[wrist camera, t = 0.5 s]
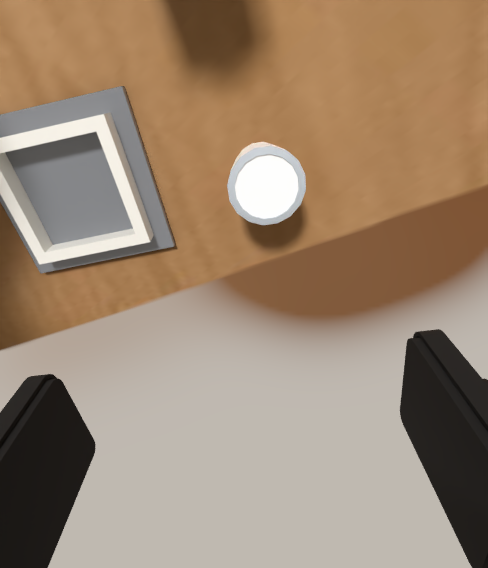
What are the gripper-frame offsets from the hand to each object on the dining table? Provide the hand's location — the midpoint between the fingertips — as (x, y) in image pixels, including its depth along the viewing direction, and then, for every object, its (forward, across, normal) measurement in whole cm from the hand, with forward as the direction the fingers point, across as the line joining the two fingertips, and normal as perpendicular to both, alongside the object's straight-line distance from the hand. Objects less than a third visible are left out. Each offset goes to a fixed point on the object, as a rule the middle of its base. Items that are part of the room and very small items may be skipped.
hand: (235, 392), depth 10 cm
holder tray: (+30, +17, -1) cm, 34 cm away
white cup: (+31, -2, 0) cm, 31 cm away
